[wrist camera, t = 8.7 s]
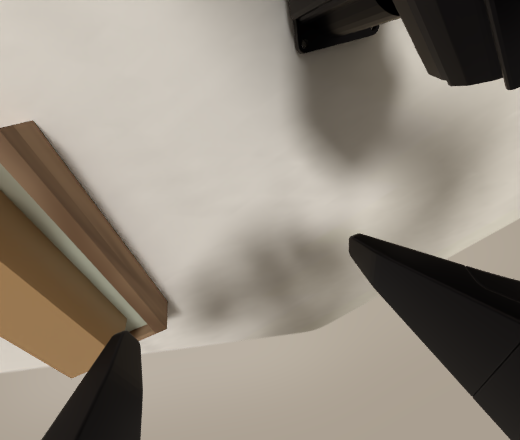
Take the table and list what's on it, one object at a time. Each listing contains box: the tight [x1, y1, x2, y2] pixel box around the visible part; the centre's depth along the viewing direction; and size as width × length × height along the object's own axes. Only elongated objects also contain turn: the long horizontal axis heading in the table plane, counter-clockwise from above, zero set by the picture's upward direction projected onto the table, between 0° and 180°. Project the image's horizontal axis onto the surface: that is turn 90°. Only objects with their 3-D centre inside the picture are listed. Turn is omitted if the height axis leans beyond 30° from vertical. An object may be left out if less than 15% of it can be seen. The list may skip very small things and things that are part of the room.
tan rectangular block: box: [0, 190, 127, 378], centre depth 14 cm, size 4×14×4 cm, turn 14°
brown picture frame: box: [0, 121, 168, 341], centre depth 16 cm, size 9×18×3 cm, turn 14°
